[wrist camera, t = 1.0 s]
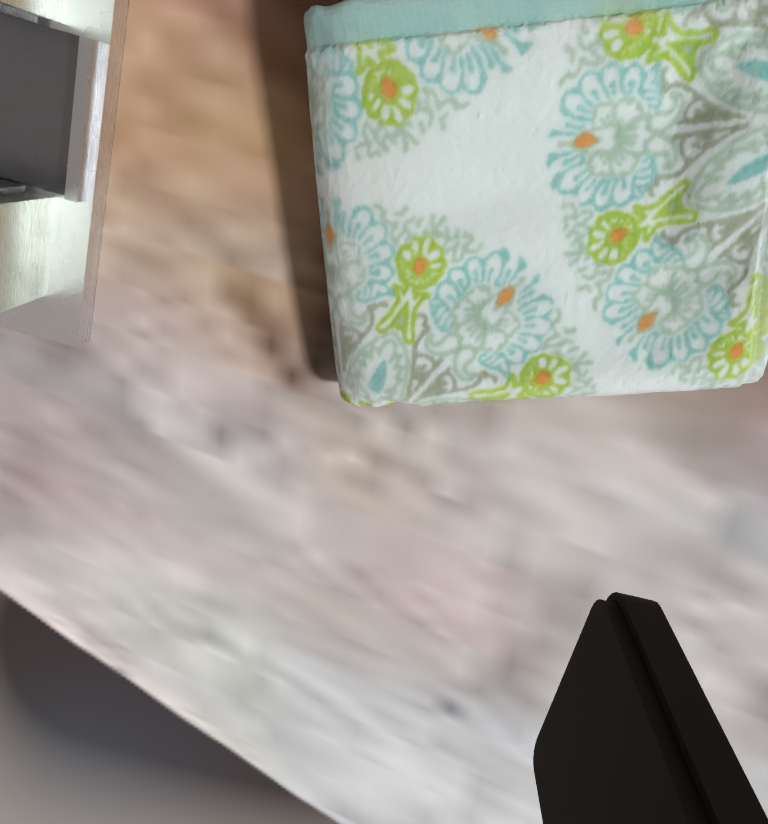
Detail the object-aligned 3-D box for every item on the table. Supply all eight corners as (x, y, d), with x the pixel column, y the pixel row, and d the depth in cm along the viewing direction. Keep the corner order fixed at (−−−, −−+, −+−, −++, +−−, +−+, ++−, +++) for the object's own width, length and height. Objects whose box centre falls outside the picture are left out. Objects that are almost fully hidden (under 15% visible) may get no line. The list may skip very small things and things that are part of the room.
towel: (740, 371, 36) (787, 405, 32) (342, 389, 38) (331, 423, 33) (789, -26, 30) (859, -59, 25) (309, 14, 32) (288, -10, 27)
